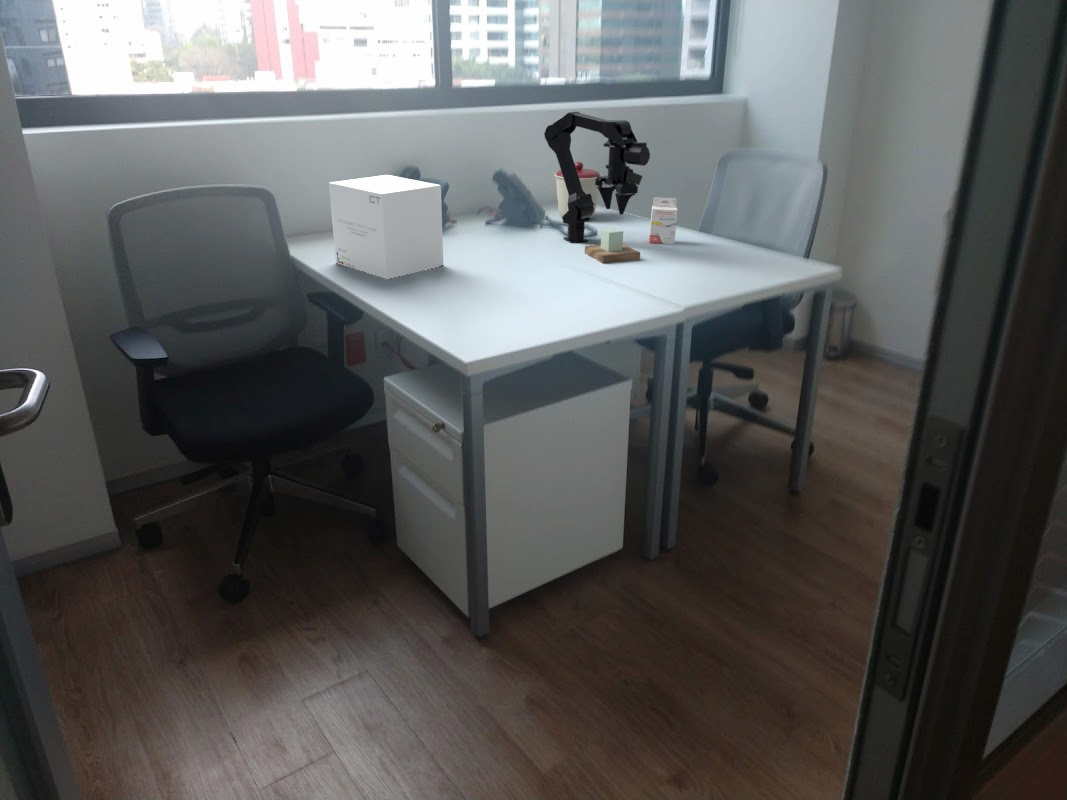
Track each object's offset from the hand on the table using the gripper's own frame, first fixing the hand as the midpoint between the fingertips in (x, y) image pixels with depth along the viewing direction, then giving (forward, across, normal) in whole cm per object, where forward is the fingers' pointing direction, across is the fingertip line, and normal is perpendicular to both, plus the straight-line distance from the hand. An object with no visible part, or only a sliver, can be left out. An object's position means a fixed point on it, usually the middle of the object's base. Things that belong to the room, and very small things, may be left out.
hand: (614, 211), depth 263 cm
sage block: (+10, -10, +6) cm, 15 cm away
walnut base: (+13, -10, +6) cm, 17 cm away
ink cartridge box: (+12, +2, -20) cm, 24 cm away
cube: (+13, +4, +74) cm, 75 cm away
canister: (+12, +47, -9) cm, 49 cm away
